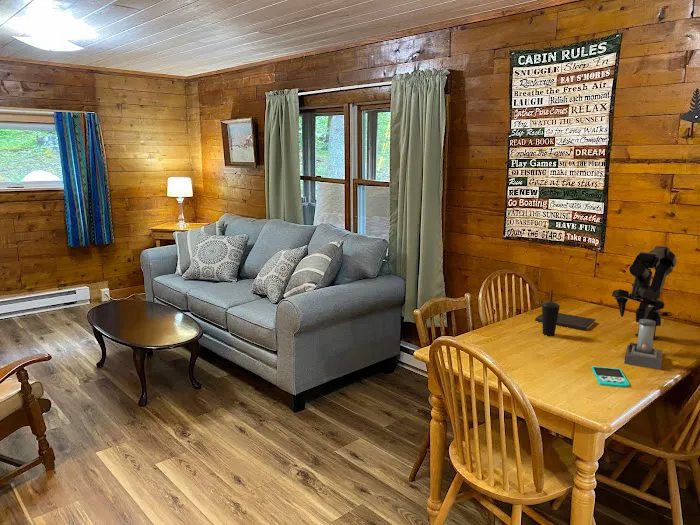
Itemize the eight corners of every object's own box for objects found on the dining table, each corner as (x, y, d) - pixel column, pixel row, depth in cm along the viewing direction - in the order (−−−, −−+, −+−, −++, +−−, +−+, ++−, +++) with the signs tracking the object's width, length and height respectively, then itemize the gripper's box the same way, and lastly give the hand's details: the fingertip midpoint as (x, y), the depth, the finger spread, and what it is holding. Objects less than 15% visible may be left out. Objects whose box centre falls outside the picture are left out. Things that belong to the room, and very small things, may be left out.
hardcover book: (546, 315, 267) (546, 310, 267) (595, 323, 253) (595, 319, 253) (534, 322, 255) (535, 317, 254) (586, 332, 241) (586, 327, 240)
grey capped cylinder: (636, 350, 208) (639, 318, 206) (652, 353, 205) (655, 320, 203) (635, 356, 201) (638, 323, 199) (651, 359, 198) (655, 325, 196)
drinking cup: (538, 336, 234) (542, 291, 230) (539, 330, 240) (543, 287, 237) (557, 338, 231) (561, 293, 227) (558, 333, 238) (561, 289, 234)
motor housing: (627, 347, 220) (629, 334, 219) (661, 353, 214) (663, 339, 213) (624, 363, 203) (625, 349, 202) (660, 369, 197) (662, 355, 196)
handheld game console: (598, 386, 184) (598, 382, 183) (590, 368, 199) (590, 365, 199) (630, 389, 181) (631, 385, 181) (620, 371, 196) (620, 368, 196)
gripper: (629, 274, 210) (619, 312, 209) (676, 287, 209) (667, 326, 208) (615, 276, 222) (606, 313, 220) (660, 289, 221) (651, 326, 219)
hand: (633, 319), depth 216 cm, fingers open, 9 cm apart
